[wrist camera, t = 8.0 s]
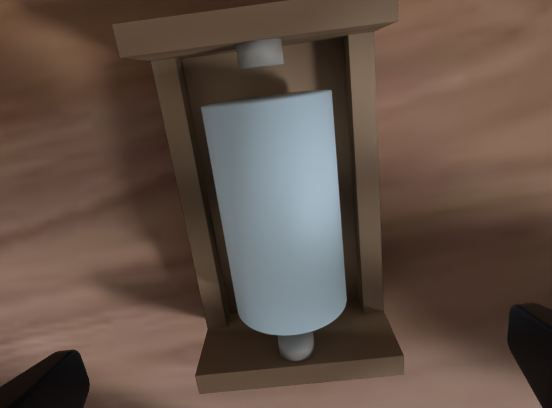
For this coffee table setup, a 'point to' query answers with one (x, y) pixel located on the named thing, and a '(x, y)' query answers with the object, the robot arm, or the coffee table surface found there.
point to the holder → (350, 165)
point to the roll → (280, 208)
